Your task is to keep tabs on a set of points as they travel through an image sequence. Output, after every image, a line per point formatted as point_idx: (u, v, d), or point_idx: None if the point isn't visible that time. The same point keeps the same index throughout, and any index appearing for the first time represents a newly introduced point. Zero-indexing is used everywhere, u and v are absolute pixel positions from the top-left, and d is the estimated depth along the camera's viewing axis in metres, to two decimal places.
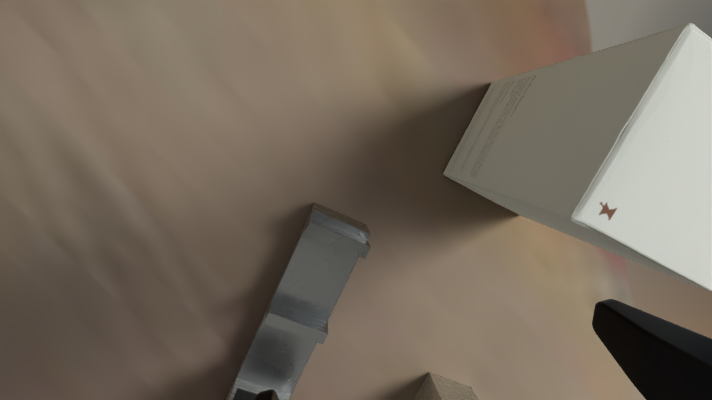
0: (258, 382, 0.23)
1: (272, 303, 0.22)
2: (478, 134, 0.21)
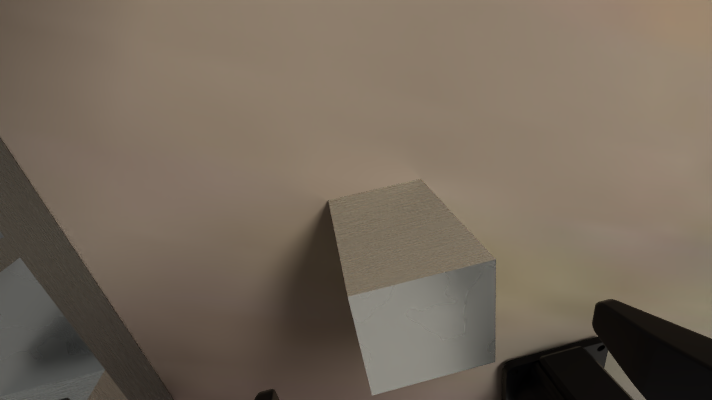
0: (36, 384, 0.13)
1: None
2: None
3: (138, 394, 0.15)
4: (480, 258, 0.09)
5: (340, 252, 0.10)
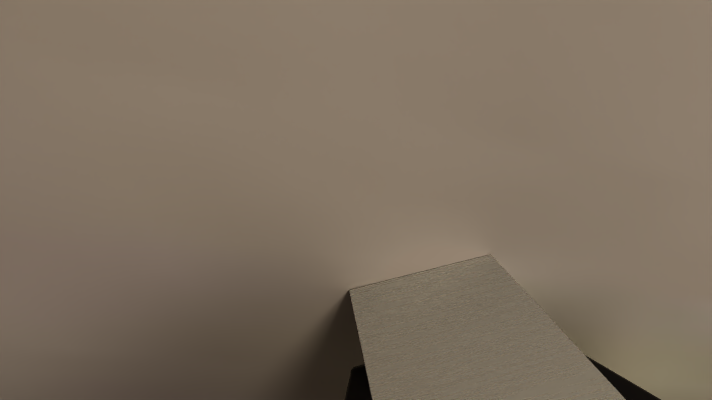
0: None
1: None
2: None
3: None
4: None
5: None
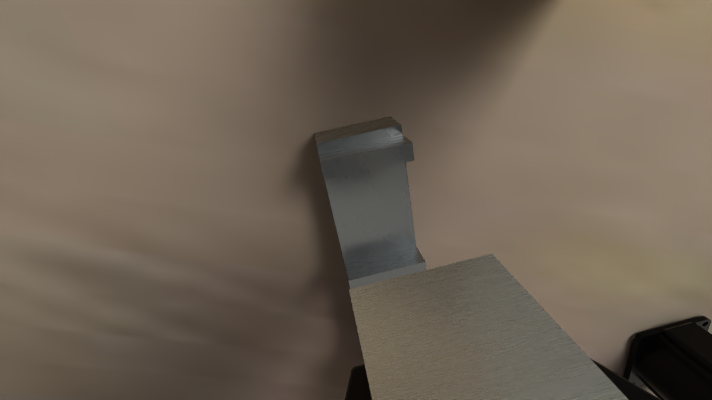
0: None
1: (346, 266, 0.18)
2: None
3: None
4: None
5: None
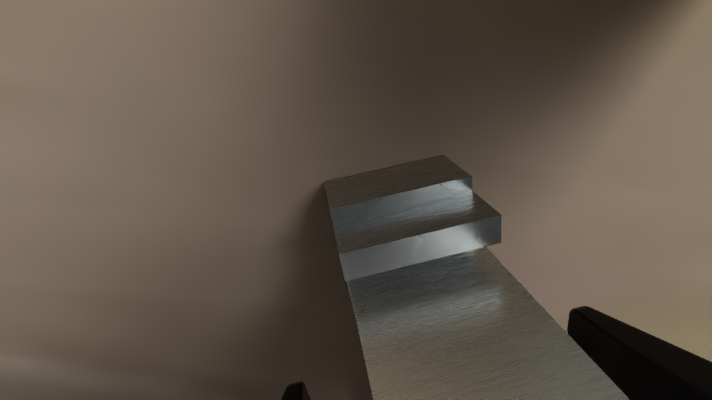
0: None
1: None
2: None
3: None
4: None
5: (374, 393, 0.06)
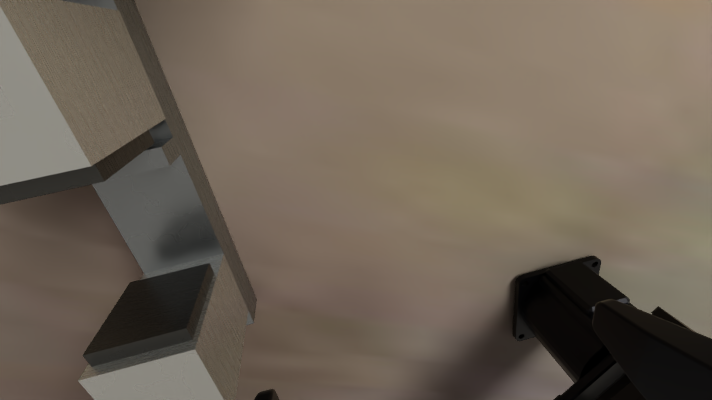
0: (173, 263, 0.17)
1: None
2: None
3: (240, 282, 0.19)
4: None
5: None
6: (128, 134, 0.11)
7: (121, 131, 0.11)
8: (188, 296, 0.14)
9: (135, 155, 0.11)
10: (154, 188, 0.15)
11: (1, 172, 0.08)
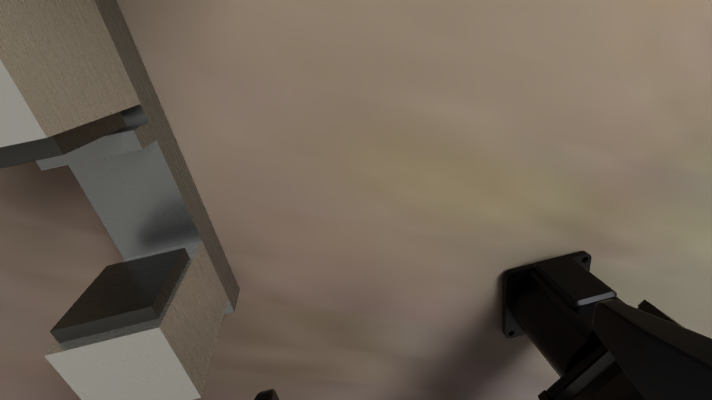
0: (152, 249, 0.17)
1: None
2: None
3: (220, 270, 0.19)
4: None
5: None
6: (94, 113, 0.11)
7: (85, 109, 0.11)
8: (159, 277, 0.14)
9: (102, 134, 0.12)
10: (131, 173, 0.16)
11: None
